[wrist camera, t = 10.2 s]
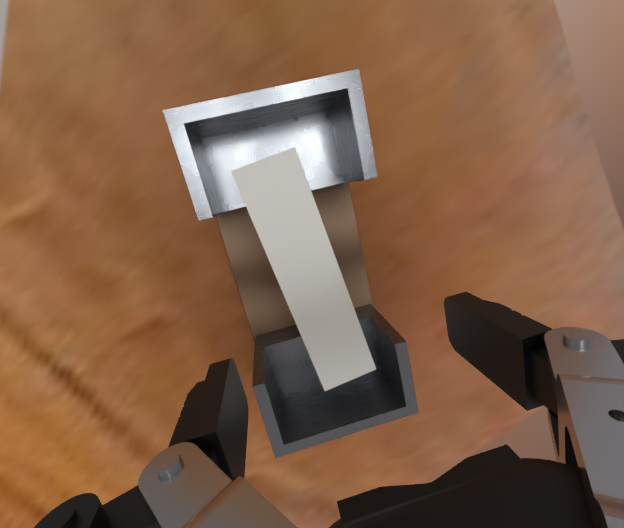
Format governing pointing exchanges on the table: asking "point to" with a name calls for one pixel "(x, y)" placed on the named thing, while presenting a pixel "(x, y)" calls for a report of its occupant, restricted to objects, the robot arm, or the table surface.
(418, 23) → the table surface
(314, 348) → the block
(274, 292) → the plank
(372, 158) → the grey boxes
